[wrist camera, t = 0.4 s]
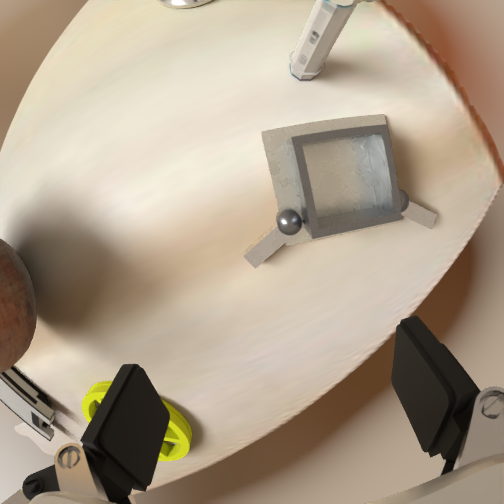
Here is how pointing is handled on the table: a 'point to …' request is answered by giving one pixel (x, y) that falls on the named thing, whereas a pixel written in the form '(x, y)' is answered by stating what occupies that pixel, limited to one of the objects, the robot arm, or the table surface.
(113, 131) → the table surface
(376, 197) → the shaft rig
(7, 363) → the clay pot
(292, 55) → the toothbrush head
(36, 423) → the game console
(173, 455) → the pulley
